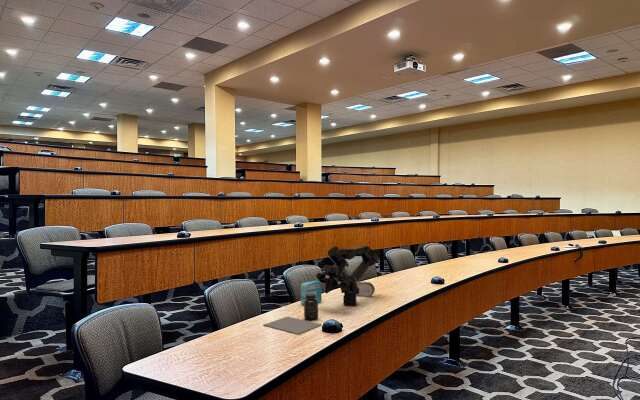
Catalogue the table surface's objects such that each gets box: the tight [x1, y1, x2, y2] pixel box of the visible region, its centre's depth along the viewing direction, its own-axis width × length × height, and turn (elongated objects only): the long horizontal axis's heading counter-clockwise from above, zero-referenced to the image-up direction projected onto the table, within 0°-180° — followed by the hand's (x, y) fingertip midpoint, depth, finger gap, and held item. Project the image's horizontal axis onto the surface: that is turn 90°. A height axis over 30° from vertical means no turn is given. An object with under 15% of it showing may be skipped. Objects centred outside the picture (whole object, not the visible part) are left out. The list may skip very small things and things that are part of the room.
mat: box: [263, 316, 323, 336], centre depth 192 cm, size 16×22×1 cm
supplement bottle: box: [303, 293, 319, 322], centre depth 202 cm, size 7×7×12 cm
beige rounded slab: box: [356, 281, 376, 298], centre depth 247 cm, size 15×3×8 cm, turn 71°
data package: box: [300, 280, 323, 306], centre depth 231 cm, size 12×4×12 cm, turn 137°
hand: (325, 292), depth 211 cm, fingers closed
